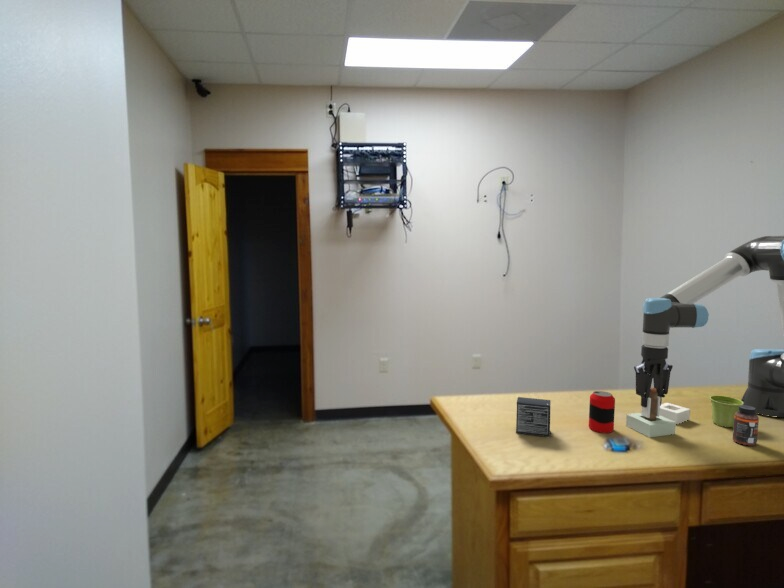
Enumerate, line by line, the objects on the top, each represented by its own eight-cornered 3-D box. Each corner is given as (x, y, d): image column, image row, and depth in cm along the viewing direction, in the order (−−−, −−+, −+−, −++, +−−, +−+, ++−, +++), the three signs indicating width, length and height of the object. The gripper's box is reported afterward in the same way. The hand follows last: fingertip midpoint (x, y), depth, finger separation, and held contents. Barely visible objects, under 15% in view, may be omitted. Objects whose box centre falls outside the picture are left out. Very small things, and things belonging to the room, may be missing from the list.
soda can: (594, 422, 159) (595, 388, 158) (617, 428, 154) (618, 393, 153) (584, 428, 154) (586, 393, 153) (608, 435, 149) (610, 399, 148)
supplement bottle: (757, 448, 139) (761, 411, 138) (733, 444, 142) (736, 408, 141) (755, 441, 144) (758, 406, 143) (731, 437, 147) (734, 402, 146)
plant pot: (743, 424, 158) (745, 399, 157) (739, 432, 151) (741, 406, 150) (710, 417, 164) (712, 393, 163) (705, 424, 157) (707, 400, 157)
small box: (550, 430, 153) (551, 399, 152) (549, 437, 147) (551, 405, 146) (517, 426, 157) (517, 395, 156) (515, 433, 151) (516, 401, 149)
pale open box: (650, 422, 159) (650, 411, 159) (674, 434, 150) (675, 422, 149) (625, 425, 157) (626, 414, 156) (649, 437, 147) (650, 425, 147)
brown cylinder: (649, 427, 155) (652, 386, 154) (657, 431, 152) (660, 389, 151) (641, 428, 154) (644, 387, 153) (649, 432, 151) (652, 390, 150)
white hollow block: (666, 413, 168) (666, 402, 168) (689, 420, 162) (690, 409, 161) (653, 417, 164) (654, 406, 164) (676, 424, 157) (677, 413, 157)
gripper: (665, 342, 156) (661, 409, 158) (625, 344, 152) (621, 414, 154) (684, 346, 149) (679, 417, 151) (643, 349, 145) (638, 422, 147)
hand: (650, 415), depth 153 cm, fingers closed on brown cylinder, 3 cm apart
